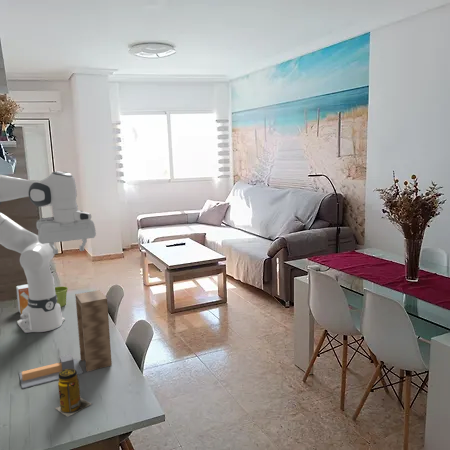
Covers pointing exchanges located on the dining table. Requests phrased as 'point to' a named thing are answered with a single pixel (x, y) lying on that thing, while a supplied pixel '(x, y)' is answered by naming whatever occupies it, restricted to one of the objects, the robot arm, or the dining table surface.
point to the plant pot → (61, 295)
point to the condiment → (70, 393)
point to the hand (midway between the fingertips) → (69, 252)
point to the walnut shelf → (93, 329)
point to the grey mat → (46, 377)
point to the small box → (22, 297)
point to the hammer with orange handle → (49, 368)
